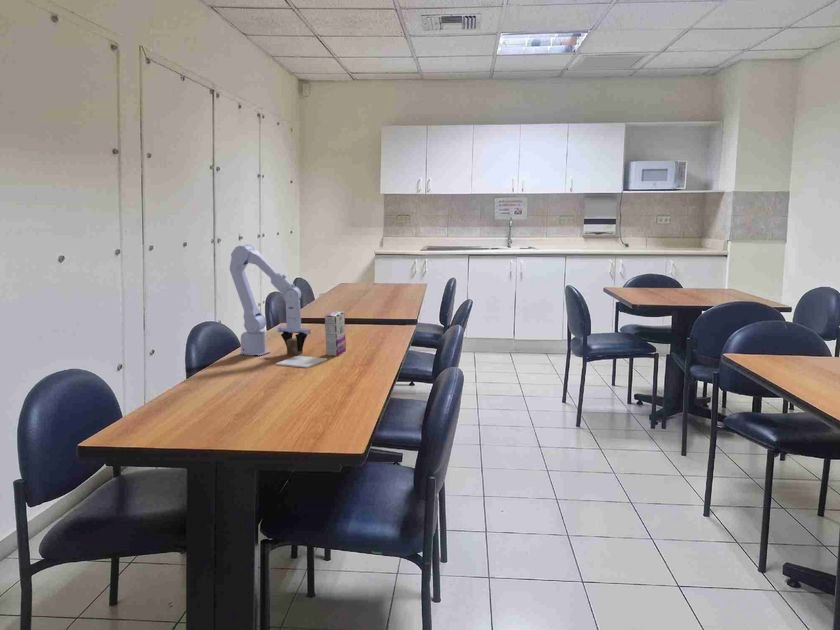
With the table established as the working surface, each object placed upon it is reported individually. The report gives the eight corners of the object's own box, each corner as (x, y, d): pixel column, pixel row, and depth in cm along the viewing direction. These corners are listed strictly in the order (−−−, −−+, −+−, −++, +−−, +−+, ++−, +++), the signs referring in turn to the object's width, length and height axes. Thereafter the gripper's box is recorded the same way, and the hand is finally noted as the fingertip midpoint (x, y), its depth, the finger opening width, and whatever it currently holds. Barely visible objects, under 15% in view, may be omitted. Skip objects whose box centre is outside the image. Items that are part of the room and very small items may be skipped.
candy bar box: (334, 350, 264) (333, 311, 262) (346, 350, 263) (345, 311, 260) (325, 356, 253) (324, 315, 251) (337, 356, 252) (336, 315, 250)
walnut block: (287, 354, 256) (286, 340, 255) (293, 352, 260) (292, 338, 259) (296, 355, 254) (296, 340, 254) (302, 353, 259) (302, 338, 258)
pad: (275, 365, 239) (275, 363, 238) (296, 357, 251) (296, 355, 251) (307, 368, 233) (307, 366, 233) (327, 360, 246) (327, 358, 246)
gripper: (272, 317, 254) (274, 351, 256) (303, 319, 249) (304, 353, 251) (282, 315, 261) (284, 347, 263) (313, 317, 255) (314, 350, 257)
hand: (294, 350), depth 257 cm, fingers closed on walnut block, 4 cm apart
